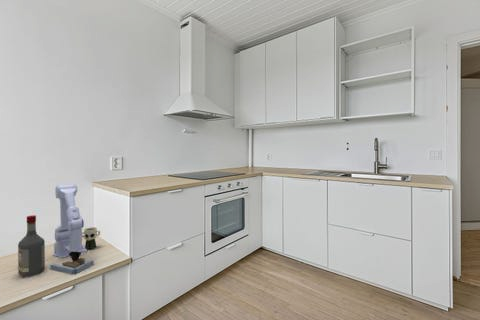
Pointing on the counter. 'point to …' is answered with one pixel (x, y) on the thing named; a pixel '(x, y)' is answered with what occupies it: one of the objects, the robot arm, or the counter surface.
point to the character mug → (90, 237)
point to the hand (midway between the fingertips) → (75, 264)
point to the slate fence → (70, 269)
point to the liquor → (31, 251)
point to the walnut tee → (74, 263)
